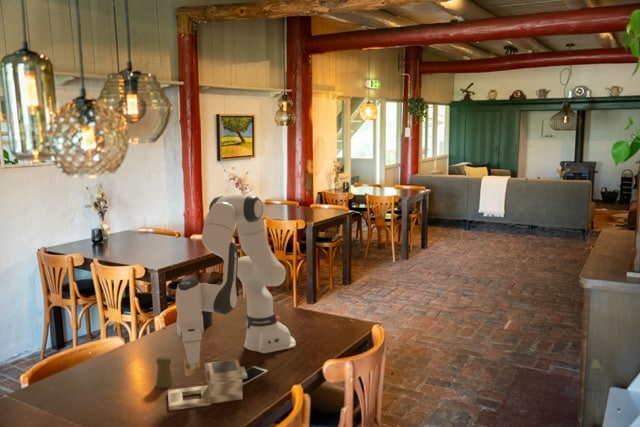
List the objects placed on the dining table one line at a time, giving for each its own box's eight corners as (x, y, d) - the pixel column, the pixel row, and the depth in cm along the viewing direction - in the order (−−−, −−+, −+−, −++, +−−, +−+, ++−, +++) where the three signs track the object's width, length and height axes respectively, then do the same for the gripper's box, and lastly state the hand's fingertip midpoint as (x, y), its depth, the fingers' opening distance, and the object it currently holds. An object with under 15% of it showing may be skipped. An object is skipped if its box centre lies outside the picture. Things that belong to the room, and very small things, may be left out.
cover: (244, 369, 201) (243, 358, 200) (247, 378, 194) (247, 367, 193) (205, 373, 197) (204, 363, 196) (207, 383, 190) (206, 372, 189)
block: (199, 368, 195) (198, 352, 194) (200, 374, 190) (199, 357, 189) (184, 369, 193) (183, 353, 192) (185, 376, 189) (184, 359, 188)
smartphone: (268, 370, 215) (242, 384, 203) (268, 371, 216) (242, 386, 203) (254, 365, 220) (227, 379, 208) (254, 367, 220) (227, 381, 208)
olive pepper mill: (174, 380, 207) (173, 353, 205) (171, 388, 201) (169, 359, 199) (158, 380, 207) (157, 353, 205) (154, 388, 201) (153, 359, 199)
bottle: (200, 321, 270) (199, 282, 267) (214, 322, 269) (213, 282, 266) (195, 326, 263) (194, 285, 260) (209, 327, 262) (208, 286, 259)
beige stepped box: (237, 385, 204) (237, 357, 202) (243, 400, 192) (242, 371, 190) (168, 394, 196) (166, 365, 195) (169, 410, 185) (167, 380, 183)
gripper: (179, 317, 198) (181, 354, 200) (182, 339, 179) (184, 379, 181) (197, 316, 200) (198, 351, 202) (202, 336, 180) (203, 376, 183)
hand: (192, 364), depth 191 cm, fingers closed on block, 5 cm apart
